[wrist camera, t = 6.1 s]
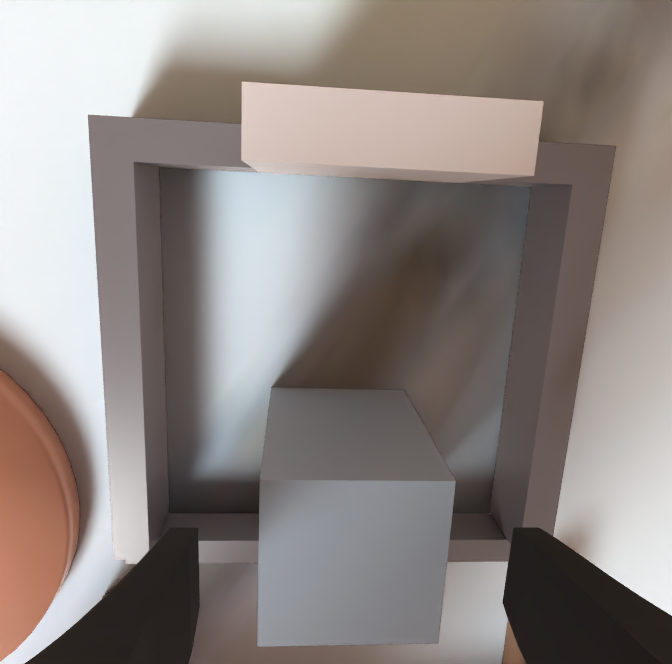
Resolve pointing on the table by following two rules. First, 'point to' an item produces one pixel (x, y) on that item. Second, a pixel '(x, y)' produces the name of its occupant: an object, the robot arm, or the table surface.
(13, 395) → the plate
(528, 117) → the grey square tray
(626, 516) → the table surface
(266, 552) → the grey block
